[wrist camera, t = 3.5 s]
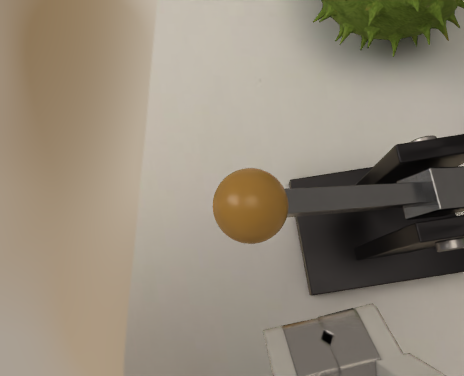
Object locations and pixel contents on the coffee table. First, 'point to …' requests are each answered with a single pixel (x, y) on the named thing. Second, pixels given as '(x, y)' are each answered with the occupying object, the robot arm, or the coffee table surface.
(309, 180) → the black lever stand
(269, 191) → the tap lever
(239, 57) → the coffee table surface
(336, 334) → the robot arm
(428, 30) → the chestnut
